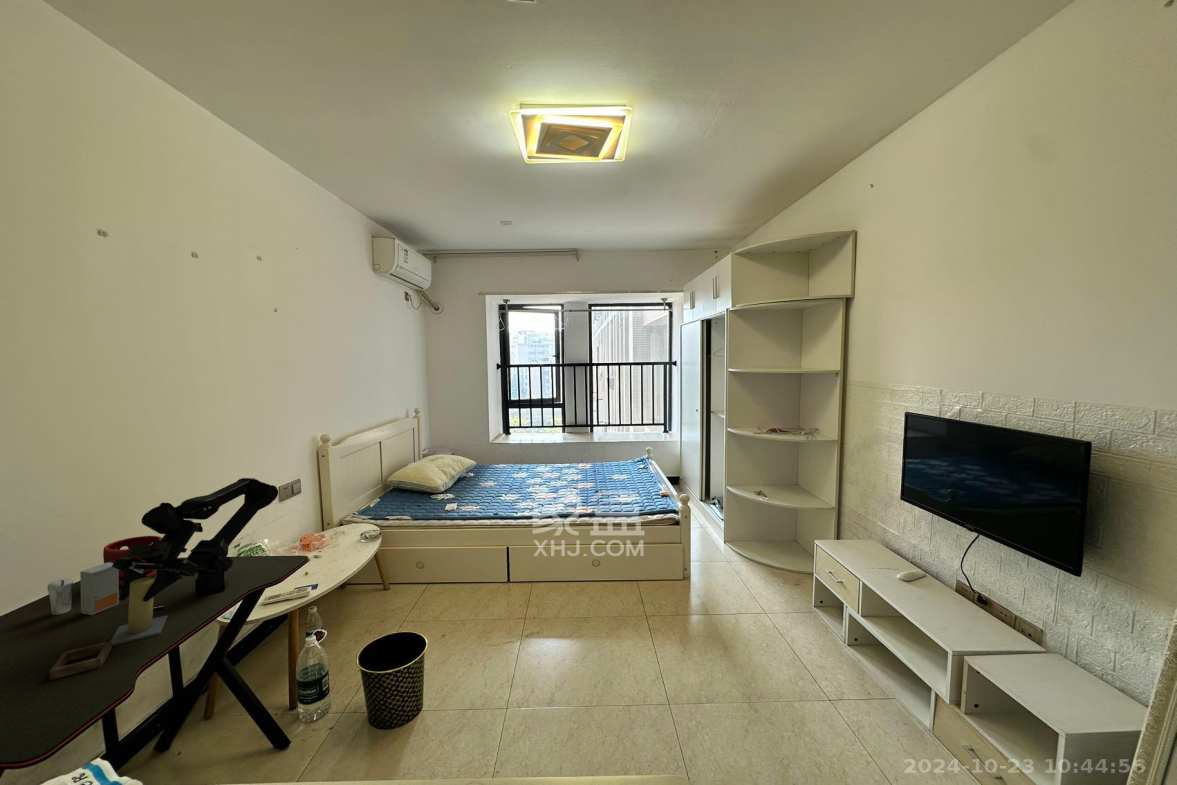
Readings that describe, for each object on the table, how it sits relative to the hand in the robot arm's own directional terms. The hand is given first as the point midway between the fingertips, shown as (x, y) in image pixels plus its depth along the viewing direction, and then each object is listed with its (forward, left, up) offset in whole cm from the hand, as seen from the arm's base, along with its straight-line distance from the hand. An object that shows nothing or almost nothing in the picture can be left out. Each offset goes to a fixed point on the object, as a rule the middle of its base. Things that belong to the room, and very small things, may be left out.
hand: (132, 600), depth 109 cm
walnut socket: (+7, +9, -9) cm, 14 cm away
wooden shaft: (-1, -1, -8) cm, 8 cm away
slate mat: (-1, -1, -9) cm, 9 cm away
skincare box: (+11, -21, -9) cm, 25 cm away
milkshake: (+19, -24, -9) cm, 32 cm away
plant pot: (+8, -40, -9) cm, 42 cm away
